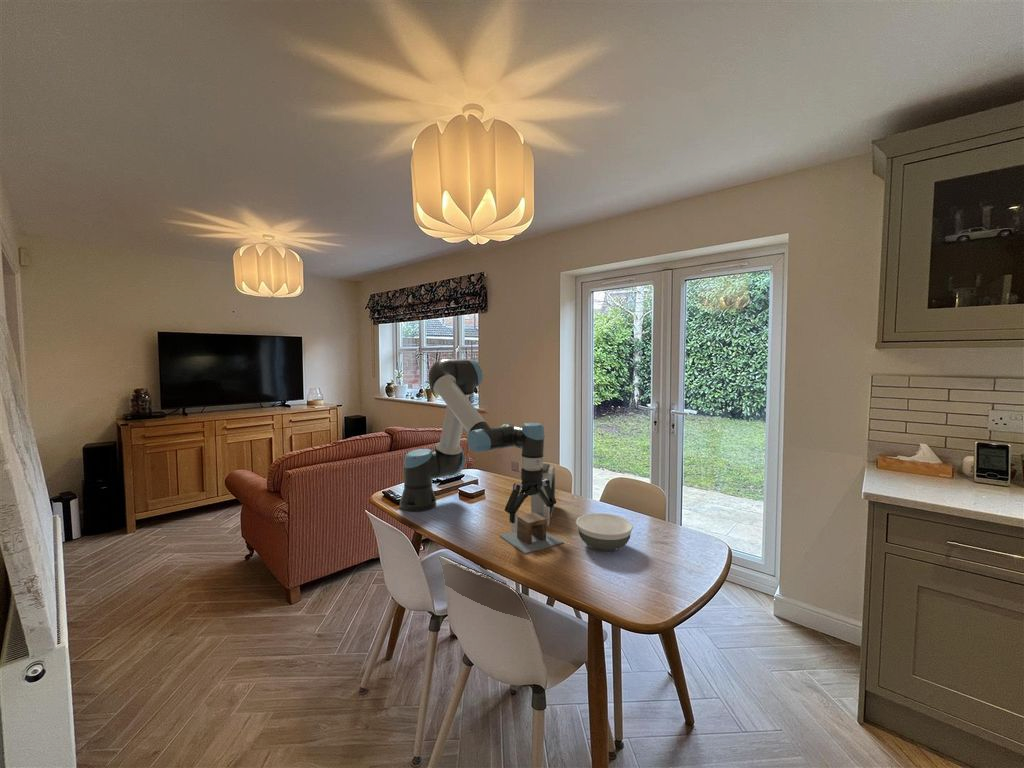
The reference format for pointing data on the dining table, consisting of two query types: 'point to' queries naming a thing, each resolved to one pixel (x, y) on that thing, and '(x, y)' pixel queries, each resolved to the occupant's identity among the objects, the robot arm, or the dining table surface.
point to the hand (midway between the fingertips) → (530, 527)
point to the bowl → (604, 531)
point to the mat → (536, 542)
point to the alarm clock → (536, 500)
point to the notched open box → (531, 527)
